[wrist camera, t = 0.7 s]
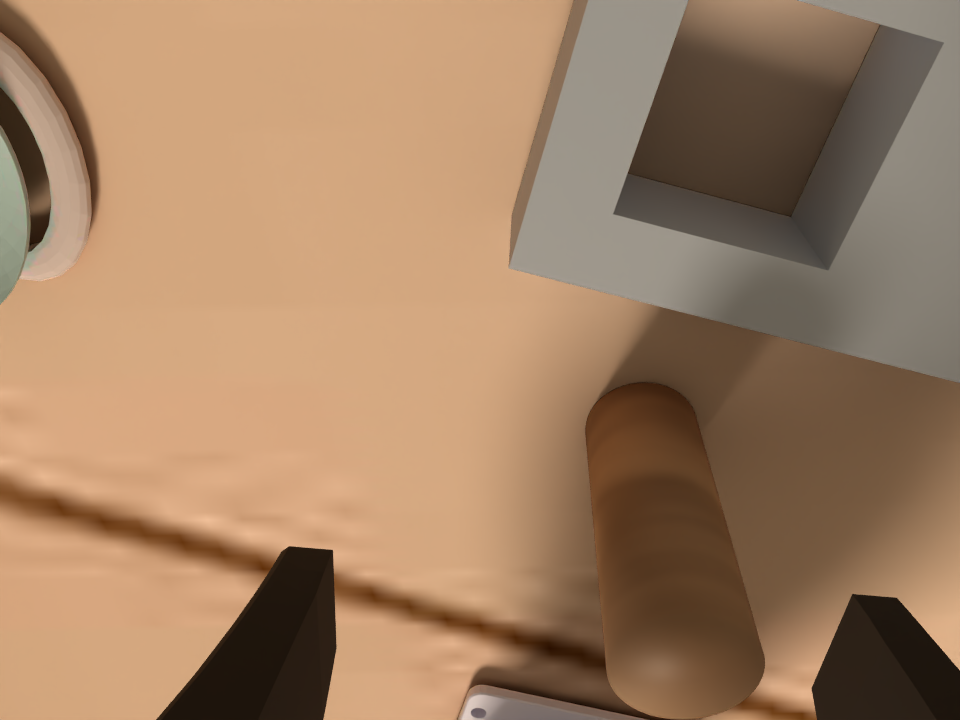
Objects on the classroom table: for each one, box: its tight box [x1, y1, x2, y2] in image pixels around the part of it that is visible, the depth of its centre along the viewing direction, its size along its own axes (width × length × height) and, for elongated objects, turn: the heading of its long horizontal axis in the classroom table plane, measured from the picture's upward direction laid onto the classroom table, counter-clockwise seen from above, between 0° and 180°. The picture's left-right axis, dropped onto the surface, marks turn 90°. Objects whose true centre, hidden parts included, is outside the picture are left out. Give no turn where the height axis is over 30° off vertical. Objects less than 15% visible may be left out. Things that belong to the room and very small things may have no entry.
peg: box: [585, 383, 765, 719], centre depth 20 cm, size 3×3×8 cm
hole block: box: [509, 0, 960, 383], centre depth 18 cm, size 8×16×3 cm, turn 76°
